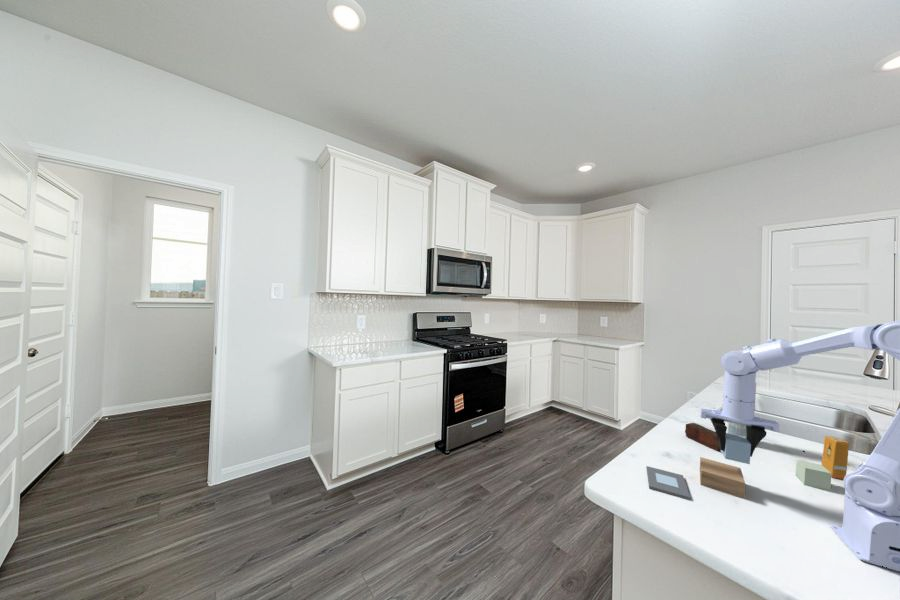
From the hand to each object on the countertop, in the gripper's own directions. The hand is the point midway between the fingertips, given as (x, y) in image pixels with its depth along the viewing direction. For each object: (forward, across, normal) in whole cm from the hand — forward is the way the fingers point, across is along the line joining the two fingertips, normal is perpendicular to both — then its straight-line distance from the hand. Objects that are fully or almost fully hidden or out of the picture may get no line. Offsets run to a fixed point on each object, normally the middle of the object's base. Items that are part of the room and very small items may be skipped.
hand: (734, 451), depth 78 cm
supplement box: (+9, -25, -20) cm, 33 cm away
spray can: (+9, -9, -33) cm, 35 cm away
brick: (+9, +1, -24) cm, 25 cm away
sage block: (+9, -18, -12) cm, 24 cm away
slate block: (+2, 0, 0) cm, 2 cm away
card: (+8, +14, +8) cm, 19 cm away
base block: (+9, +3, +1) cm, 9 cm away
